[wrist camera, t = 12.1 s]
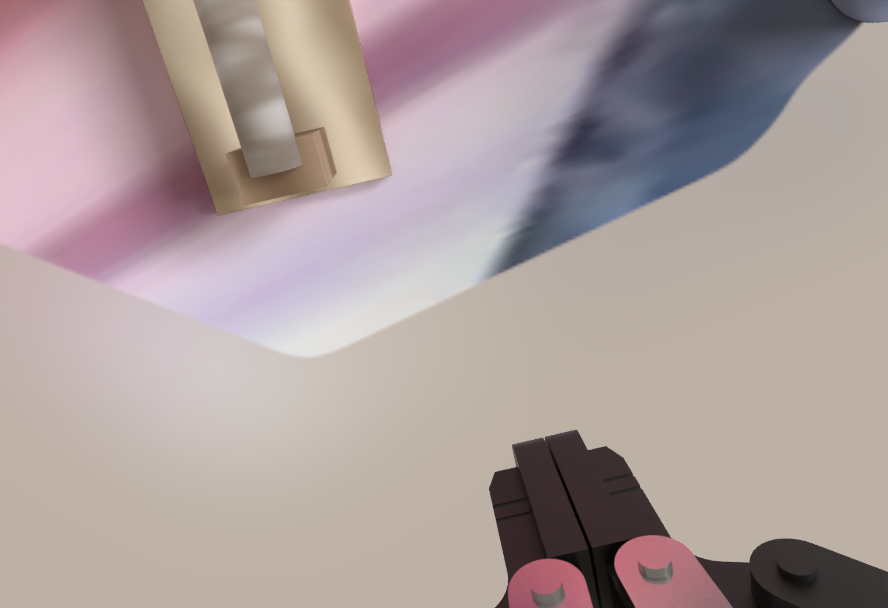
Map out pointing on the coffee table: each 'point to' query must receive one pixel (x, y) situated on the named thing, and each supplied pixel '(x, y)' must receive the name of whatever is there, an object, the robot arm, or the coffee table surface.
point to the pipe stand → (271, 96)
